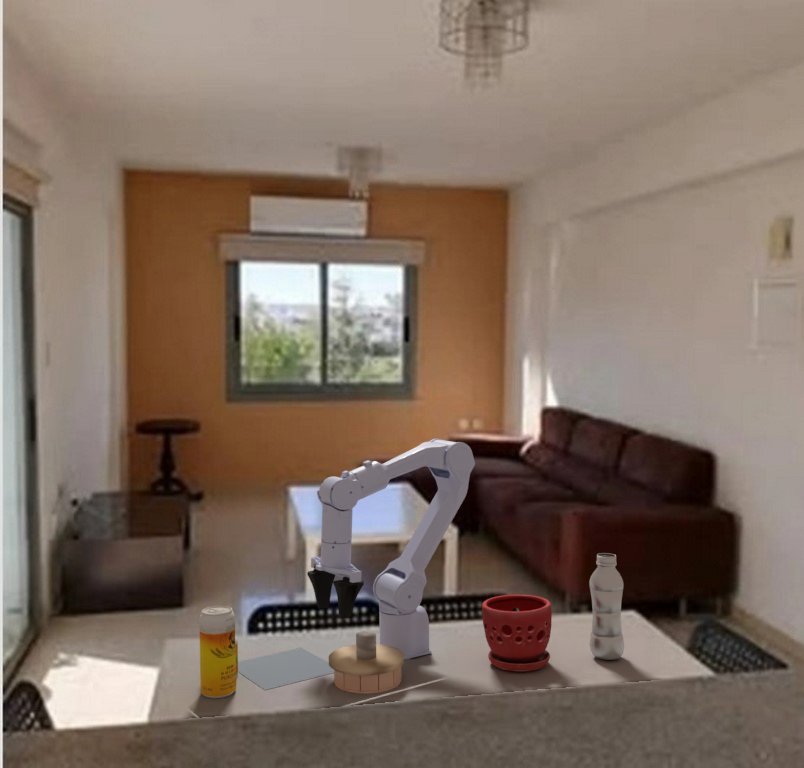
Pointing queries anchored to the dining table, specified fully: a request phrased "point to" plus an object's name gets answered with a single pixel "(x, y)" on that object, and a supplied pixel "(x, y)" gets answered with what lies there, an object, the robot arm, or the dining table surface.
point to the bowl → (368, 682)
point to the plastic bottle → (606, 609)
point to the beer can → (217, 651)
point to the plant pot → (517, 631)
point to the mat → (283, 668)
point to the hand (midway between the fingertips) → (333, 612)
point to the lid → (366, 657)
